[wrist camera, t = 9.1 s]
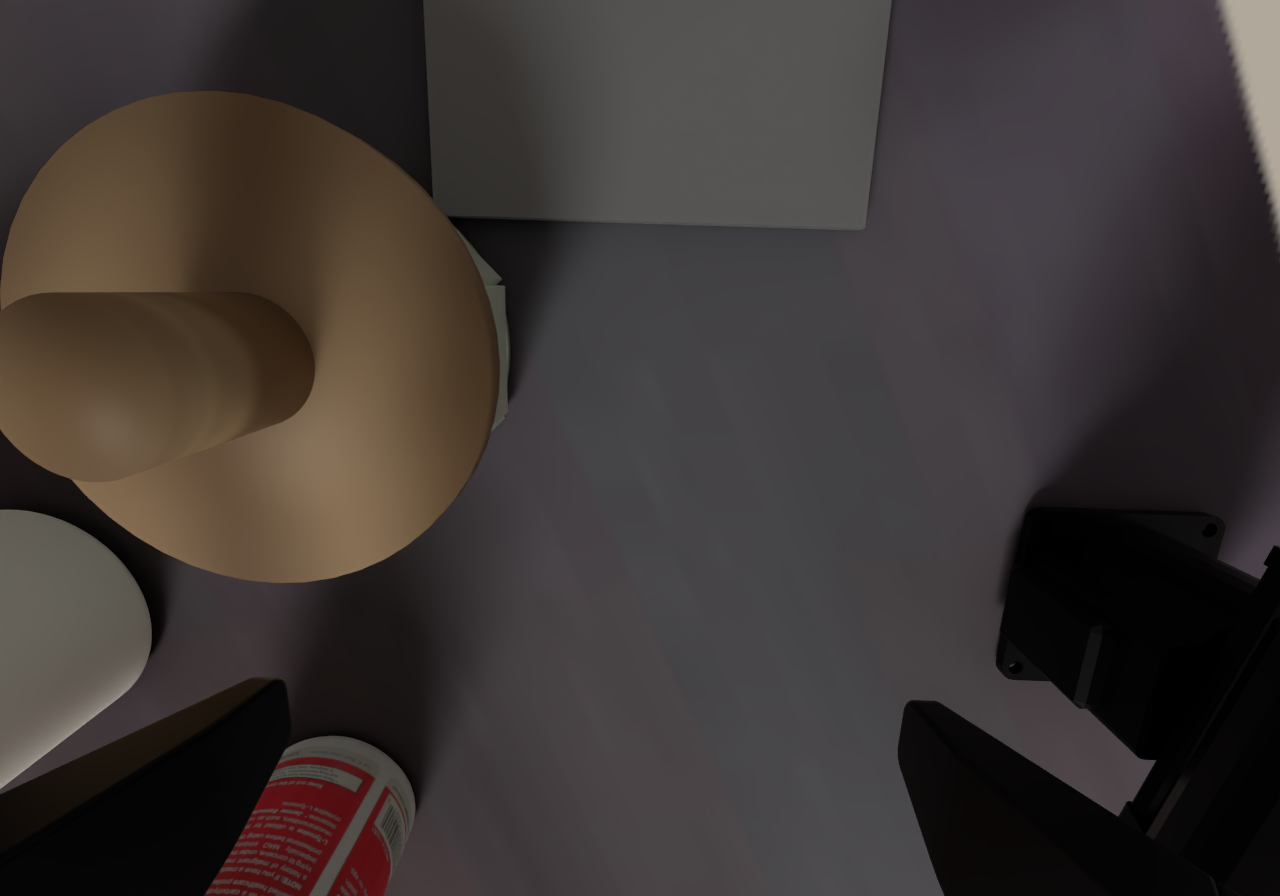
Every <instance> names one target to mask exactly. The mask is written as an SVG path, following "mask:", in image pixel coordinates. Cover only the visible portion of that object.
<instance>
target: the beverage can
mask: <svg viewBox="0 0 1280 896" xmlns="http://www.w3.org/2000/svg"><path fill="white" fill-rule="evenodd" d="M151 641H152V628H151V620H150V615H149V611H148V607H147V604H146V601H145V599H144V596H143V594H142V592H141V590H140V588H139V586H138V584H137V582H136V581H135V579H134V577H133V576H132V575H131V573H130V572H129V570H128V569H127V568H126V566H125V565H124V564H123V563H122V562H121V561H120V560H119V558H118V557H117V556H116V555H115V554H114V553H113V552H112V551H110V550H109V549H108V548H107V547H106V546H105V545H104V544H102V543H101V542H100V541H98V540H97V539H96V538H94V537H93V536H91V535H90V534H88V533H86V532H85V531H83V530H81V529H80V528H78V527H76V526H74V525H72V524H70V523H67V522H65V521H63V520H60V519H58V518H55V517H52V516H48V515H45V514H41V513H36V512H31V511H24V510H0V789H1V788H2V787H3V786H5V785H6V784H7V783H8V782H10V781H11V780H12V779H14V778H15V777H16V776H18V775H19V774H20V773H22V772H23V771H24V770H25V769H27V768H28V767H29V766H31V765H32V764H33V763H35V762H36V761H37V760H38V759H40V758H41V757H42V756H44V755H45V754H46V753H48V752H49V751H50V750H52V749H53V748H54V747H55V746H57V745H58V744H59V743H61V742H62V741H63V740H65V739H66V738H67V737H68V736H70V735H71V734H72V733H74V732H75V731H76V730H78V729H79V728H80V727H82V726H83V725H84V724H85V723H87V722H88V721H89V720H91V719H92V718H93V717H95V716H96V715H97V714H98V713H100V712H101V711H102V710H104V709H105V708H106V707H108V706H109V705H110V704H111V703H113V702H114V701H115V700H117V699H118V698H119V697H121V696H122V695H123V694H124V693H125V692H127V691H128V690H129V689H130V688H131V687H132V686H133V685H134V683H135V682H136V681H137V680H138V678H139V677H140V675H141V673H142V671H143V670H144V668H145V665H146V663H147V660H148V657H149V653H150V649H151Z"/></svg>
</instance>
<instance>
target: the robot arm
mask: <svg viewBox="0 0 1280 896" xmlns="http://www.w3.org/2000/svg"><path fill="white" fill-rule="evenodd" d="M1044 518H1046V523H1045V524H1044V525H1043V526H1042V527H1039V523H1040V521H1041V520H1042V519H1044ZM1206 525H1207V527H1206V529H1205V530H1204V531H1203V532H1202V529H1203V528H1204V526H1206ZM1224 531H1225V525H1224V522H1223V521H1222V520H1221V519H1220V518H1218V517H1216V516H1213V515H1211V514H1208V513H1203V512H1176V511H1147V510H1118V509H1088V508H1059V507H1038V508H1034V509H1033V510H1031V511H1030V512H1029V513H1028V514H1027V515H1026V517H1025V519H1024V524H1023V529H1022V534H1021V539H1020V544H1019V549H1018V554H1017V559H1016V564H1015V567H1014V568H1013V570H1012V573H1011V578H1010V583H1009V588H1008V593H1007V598H1006V603H1005V608H1004V613H1003V618H1002V623H1001V628H1000V632H1001V638H1000V643H999V648H998V653H997V658H996V666H997V668H998V670H999V671H1000V672H1001V673H1002V674H1003V675H1004V676H1005V677H1007V678H1008V679H1012V680H1031V681H1051V682H1052V683H1053V684H1054V685H1055V686H1056V687H1057V688H1058V689H1059V690H1060V691H1061V692H1062V693H1063V694H1064V695H1065V696H1066V697H1067V698H1068V699H1069V700H1070V701H1071V702H1072V703H1073V704H1074V705H1075V706H1076V707H1078V708H1080V709H1088V710H1089V711H1090V712H1091V713H1092V714H1093V715H1094V716H1095V717H1096V718H1097V719H1098V720H1099V721H1100V722H1101V723H1102V724H1103V725H1105V726H1106V727H1107V728H1108V729H1109V730H1110V731H1111V732H1112V733H1113V734H1114V735H1115V736H1116V737H1117V738H1118V739H1119V740H1120V741H1121V742H1122V743H1123V744H1124V745H1126V746H1127V747H1128V748H1129V749H1130V750H1131V751H1132V752H1133V753H1134V754H1135V755H1136V756H1137V757H1138V758H1140V759H1144V760H1156V762H1155V763H1154V765H1153V767H1152V769H1151V770H1150V772H1149V774H1148V776H1147V777H1146V779H1145V781H1144V782H1143V784H1142V786H1141V788H1140V789H1139V791H1138V793H1137V795H1136V796H1135V798H1134V800H1133V802H1131V801H1127V802H1126V804H1125V806H1124V808H1123V809H1122V811H1121V813H1120V815H1119V816H1118V817H1117V816H1116V815H1114V814H1113V813H1111V812H1110V811H1108V810H1107V809H1105V808H1103V807H1102V806H1100V805H1099V804H1097V803H1096V802H1094V801H1092V800H1091V799H1089V798H1088V797H1086V796H1085V795H1083V794H1082V793H1080V792H1078V791H1077V790H1075V789H1074V788H1072V787H1071V786H1069V785H1067V784H1066V783H1064V782H1063V781H1061V780H1060V779H1058V778H1057V777H1055V776H1053V775H1052V774H1050V773H1049V772H1047V771H1046V770H1044V769H1042V768H1041V767H1039V766H1038V765H1036V764H1035V763H1033V762H1031V761H1030V760H1028V759H1027V758H1025V757H1024V756H1022V755H1021V754H1019V753H1017V752H1016V751H1014V750H1013V749H1011V748H1010V747H1008V746H1006V745H1005V744H1003V743H1002V742H1000V741H999V740H997V739H996V738H994V737H992V736H991V735H989V734H988V733H986V732H985V731H983V730H981V729H980V728H978V727H977V726H975V725H974V724H972V723H971V722H969V721H967V720H966V719H964V718H963V717H961V716H960V715H958V714H956V713H955V712H953V711H952V710H950V709H949V708H947V707H946V706H944V705H942V704H941V703H939V702H936V701H922V700H911V701H909V702H908V703H907V704H906V706H905V708H904V712H903V718H902V725H901V731H900V737H899V743H898V761H899V766H900V769H901V772H902V775H903V778H904V781H905V784H906V787H907V790H908V793H909V796H910V799H911V802H912V805H913V808H914V811H915V814H916V817H917V820H918V823H919V826H920V829H921V832H922V836H923V839H924V842H925V845H926V848H927V851H928V854H929V857H930V860H931V862H932V865H933V868H934V871H935V874H936V876H937V879H938V881H939V884H940V886H941V889H942V891H943V893H944V896H1280V547H1279V546H1275V545H1274V546H1273V548H1272V550H1271V552H1270V553H1269V555H1268V557H1267V559H1266V560H1265V562H1264V565H1266V566H1268V568H1267V569H1266V571H1265V573H1264V575H1263V576H1262V578H1261V580H1260V579H1258V578H1256V577H1254V576H1251V575H1249V574H1247V573H1245V572H1243V571H1241V570H1239V569H1237V568H1234V567H1232V566H1230V565H1228V564H1226V563H1224V562H1222V561H1220V560H1217V555H1218V552H1219V549H1220V545H1221V542H1222V538H1223V535H1224ZM1013 662H1016V664H1015V665H1014V666H1012V667H1009V666H1010V664H1012V663H1013ZM290 736H291V717H290V710H289V702H288V695H287V688H286V684H285V683H284V681H283V680H282V679H280V678H269V677H253V678H250V679H247V680H245V681H243V682H241V683H239V684H237V685H234V686H232V687H230V688H228V689H226V690H224V691H221V692H219V693H217V694H215V695H213V696H211V697H209V698H206V699H204V700H202V701H200V702H198V703H196V704H194V705H191V706H189V707H187V708H185V709H183V710H181V711H178V712H176V713H174V714H172V715H170V716H168V717H166V718H163V719H161V720H159V721H157V722H155V723H153V724H151V725H148V726H146V727H144V728H142V729H140V730H138V731H135V732H133V733H131V734H129V735H127V736H125V737H123V738H120V739H118V740H116V741H114V742H112V743H110V744H108V745H105V746H103V747H101V748H99V749H97V750H95V751H92V752H90V753H88V754H86V755H84V756H82V757H80V758H77V759H75V760H73V761H71V762H69V763H67V764H65V765H62V766H60V767H58V768H56V769H54V770H52V771H49V772H47V773H45V774H43V775H41V776H39V777H37V778H34V779H32V780H30V781H28V782H26V783H24V784H22V785H19V786H17V787H15V788H13V789H11V790H9V791H6V792H4V793H2V794H0V896H204V895H205V894H206V892H207V890H208V889H209V887H210V886H211V884H212V883H213V881H214V879H215V878H216V876H217V875H218V873H219V872H220V870H221V868H222V867H223V865H224V863H225V862H226V860H227V858H228V857H229V855H230V853H231V852H232V850H233V848H234V846H235V845H236V843H237V841H238V839H239V837H240V836H241V834H242V832H243V830H244V828H245V826H246V824H247V822H248V820H249V818H250V816H251V815H252V813H253V811H254V809H255V807H256V805H257V803H258V801H259V799H260V797H261V795H262V793H263V791H264V789H265V788H266V786H267V784H268V782H269V780H270V778H271V776H272V774H273V772H274V770H275V768H276V766H277V764H278V762H279V761H280V759H281V757H282V755H283V753H284V751H285V749H286V747H287V745H288V742H289V739H290Z"/></svg>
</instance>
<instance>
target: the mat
mask: <svg viewBox="0 0 1280 896" xmlns="http://www.w3.org/2000/svg"><path fill="white" fill-rule="evenodd" d="M891 3H892V0H423V7H424V27H425V47H426V67H427V87H428V107H429V127H430V147H431V167H432V187H433V200H434V201H435V202H436V203H437V205H438V206H439V207H440V208H441V209H442V210H443V212H444V213H445V214H446V215H447V217H449V218H481V219H512V220H544V221H575V222H607V223H638V224H670V225H701V226H733V227H764V228H796V229H827V230H862V229H865V226H866V217H867V209H868V200H869V191H870V183H871V174H872V166H873V157H874V149H875V140H876V132H877V123H878V114H879V106H880V97H881V89H882V80H883V72H884V63H885V55H886V46H887V37H888V29H889V20H890V12H891Z"/></svg>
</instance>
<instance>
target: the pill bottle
mask: <svg viewBox="0 0 1280 896" xmlns="http://www.w3.org/2000/svg"><path fill="white" fill-rule="evenodd" d="M414 818H415V799H414V794H413V790H412V787H411V785H410V782H409V780H408V779H407V777H406V775H405V773H404V772H403V771H402V769H401V768H400V767H399V766H398V765H397V764H396V763H395V762H394V761H393V760H392V759H391V758H390V757H389V756H387V755H386V754H385V753H383V752H382V751H380V750H379V749H377V748H376V747H374V746H372V745H370V744H368V743H365V742H363V741H360V740H357V739H354V738H350V737H344V736H323V737H316V738H311V739H307V740H304V741H301V742H298V743H296V744H294V745H292V746H290V747H288V748H287V749H285V751H284V753H283V755H282V757H281V759H280V761H279V762H278V764H277V766H276V768H275V770H274V772H273V774H272V776H271V778H270V780H269V782H268V784H267V786H266V788H265V789H264V791H263V793H262V795H261V797H260V799H259V801H258V803H257V805H256V807H255V809H254V811H253V813H252V815H251V816H250V818H249V820H248V822H247V824H246V826H245V828H244V830H243V832H242V834H241V836H240V837H239V839H238V841H237V843H236V845H235V846H234V848H233V850H232V852H231V853H230V855H229V857H228V858H227V860H226V862H225V863H224V865H223V867H222V868H221V870H220V872H219V873H218V875H217V876H216V878H215V879H214V881H213V883H212V884H211V886H210V887H209V889H208V890H207V892H206V894H205V895H204V896H383V895H384V893H385V891H386V888H387V886H388V884H389V881H390V879H391V877H392V875H393V872H394V870H395V868H396V866H397V863H398V861H399V858H400V856H401V854H402V851H403V849H404V847H405V844H406V842H407V839H408V837H409V834H410V832H411V829H412V826H413V822H414Z"/></svg>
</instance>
